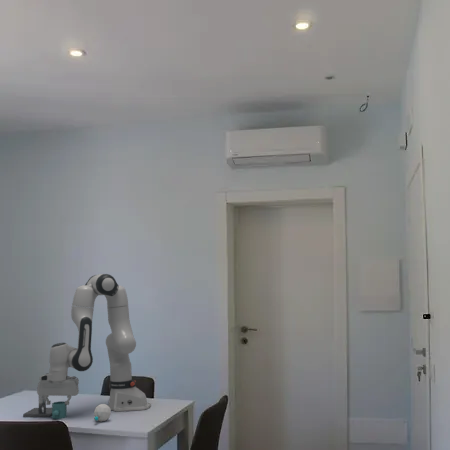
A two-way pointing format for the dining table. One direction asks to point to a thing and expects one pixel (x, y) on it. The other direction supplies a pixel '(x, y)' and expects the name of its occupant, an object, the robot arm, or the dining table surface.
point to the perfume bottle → (102, 412)
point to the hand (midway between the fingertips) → (57, 404)
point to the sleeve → (59, 410)
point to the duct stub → (39, 409)
